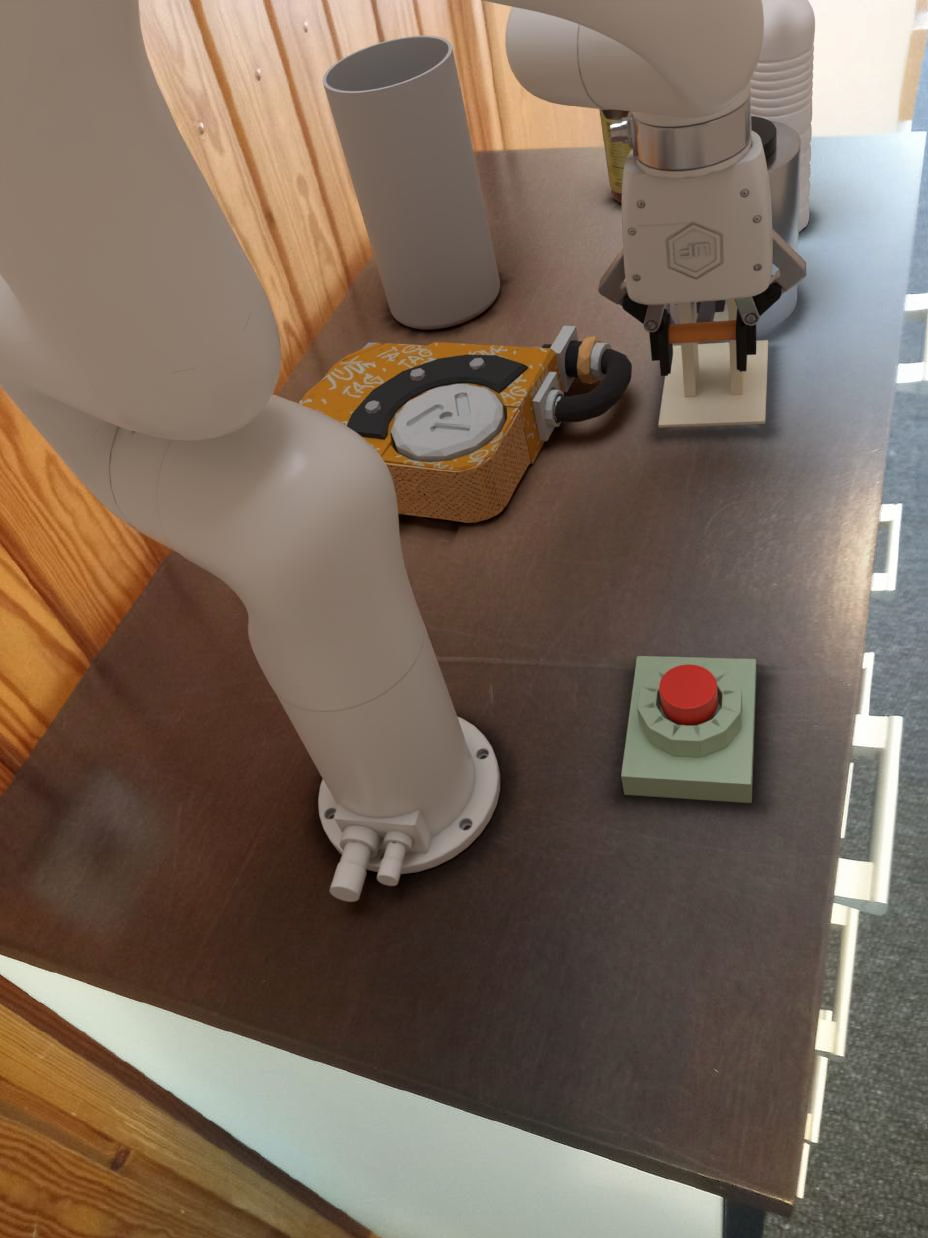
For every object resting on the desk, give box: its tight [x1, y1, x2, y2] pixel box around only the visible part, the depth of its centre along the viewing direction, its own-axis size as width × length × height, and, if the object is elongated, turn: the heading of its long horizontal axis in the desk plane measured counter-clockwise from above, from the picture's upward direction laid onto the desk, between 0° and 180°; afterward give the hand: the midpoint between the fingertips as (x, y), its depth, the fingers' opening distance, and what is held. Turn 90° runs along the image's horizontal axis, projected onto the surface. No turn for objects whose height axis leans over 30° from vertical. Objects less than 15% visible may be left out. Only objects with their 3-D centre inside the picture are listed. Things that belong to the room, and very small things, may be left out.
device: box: [297, 325, 633, 524], centre depth 93 cm, size 23×8×30 cm
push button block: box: [620, 655, 757, 804], centre depth 68 cm, size 10×8×4 cm
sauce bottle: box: [598, 109, 633, 204], centre depth 114 cm, size 7×6×20 cm
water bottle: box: [751, 0, 816, 233], centre depth 101 cm, size 9×6×25 cm
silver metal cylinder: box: [668, 116, 801, 335], centre depth 96 cm, size 14×12×17 cm
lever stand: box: [657, 299, 769, 429], centre depth 89 cm, size 12×9×12 cm
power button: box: [659, 664, 718, 725], centre depth 66 cm, size 4×4×2 cm
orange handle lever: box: [668, 300, 736, 344], centre depth 82 cm, size 12×5×2 cm, turn 168°
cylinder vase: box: [322, 35, 501, 330], centre depth 105 cm, size 12×12×25 cm
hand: (704, 361), depth 80 cm, fingers closed on orange handle lever, 5 cm apart
